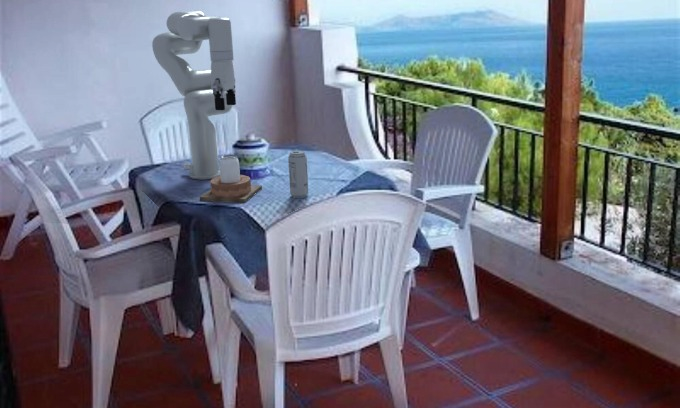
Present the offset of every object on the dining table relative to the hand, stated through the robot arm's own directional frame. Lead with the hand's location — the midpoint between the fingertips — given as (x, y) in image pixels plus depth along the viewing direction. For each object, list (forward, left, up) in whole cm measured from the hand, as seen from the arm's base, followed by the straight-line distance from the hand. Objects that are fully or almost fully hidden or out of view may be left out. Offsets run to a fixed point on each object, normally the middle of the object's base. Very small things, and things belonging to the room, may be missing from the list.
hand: (225, 107), depth 248 cm
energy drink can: (+27, -6, -28) cm, 39 cm away
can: (+3, -8, -27) cm, 29 cm away
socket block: (+3, -8, -28) cm, 30 cm away
